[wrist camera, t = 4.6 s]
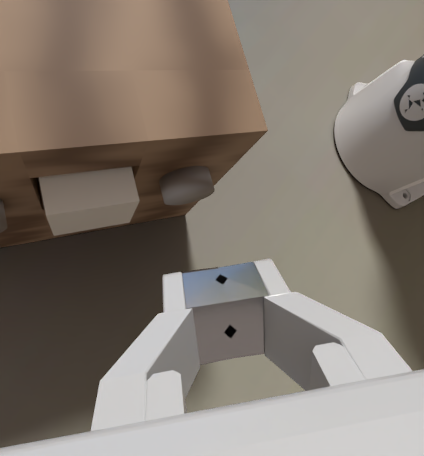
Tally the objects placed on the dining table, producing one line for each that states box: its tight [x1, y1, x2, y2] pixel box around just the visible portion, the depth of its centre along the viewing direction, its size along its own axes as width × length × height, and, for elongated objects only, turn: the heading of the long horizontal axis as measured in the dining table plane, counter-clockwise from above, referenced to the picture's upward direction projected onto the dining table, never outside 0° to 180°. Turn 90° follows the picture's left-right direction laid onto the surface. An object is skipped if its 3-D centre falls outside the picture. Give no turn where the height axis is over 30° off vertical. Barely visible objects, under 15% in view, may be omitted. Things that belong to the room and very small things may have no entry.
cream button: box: [39, 167, 139, 236], centre depth 22 cm, size 5×4×5 cm
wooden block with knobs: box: [0, 0, 268, 248], centre depth 25 cm, size 20×12×18 cm, turn 106°
